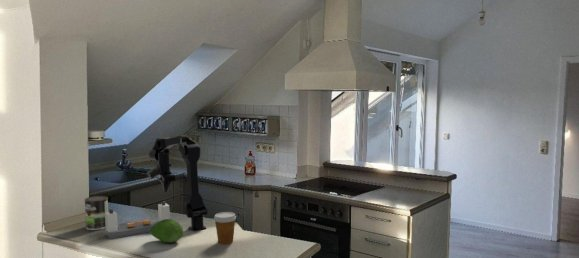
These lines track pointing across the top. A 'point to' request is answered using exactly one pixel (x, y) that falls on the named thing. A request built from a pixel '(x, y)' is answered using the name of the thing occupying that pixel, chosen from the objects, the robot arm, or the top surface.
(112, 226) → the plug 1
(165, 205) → the plug
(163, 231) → the fruit
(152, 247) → the top surface
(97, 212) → the coffee can
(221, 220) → the disposable coffee cup
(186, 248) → the top surface
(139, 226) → the grey board
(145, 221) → the orange dumbbell
